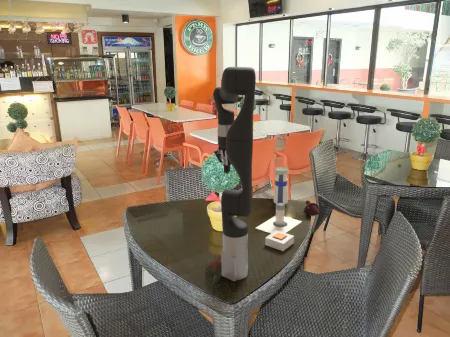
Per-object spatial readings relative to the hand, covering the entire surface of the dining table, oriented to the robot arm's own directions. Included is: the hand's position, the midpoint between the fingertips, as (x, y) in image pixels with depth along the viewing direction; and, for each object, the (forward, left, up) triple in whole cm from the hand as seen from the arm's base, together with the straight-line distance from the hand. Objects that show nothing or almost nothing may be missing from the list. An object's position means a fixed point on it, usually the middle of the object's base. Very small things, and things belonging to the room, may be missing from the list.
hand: (226, 172), depth 166 cm
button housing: (+5, -25, -29) cm, 39 cm away
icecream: (+41, -22, -29) cm, 55 cm away
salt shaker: (+22, -15, -29) cm, 39 cm away
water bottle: (+47, 0, -29) cm, 55 cm away
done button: (+5, -25, -28) cm, 38 cm away
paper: (+21, -15, -29) cm, 39 cm away
